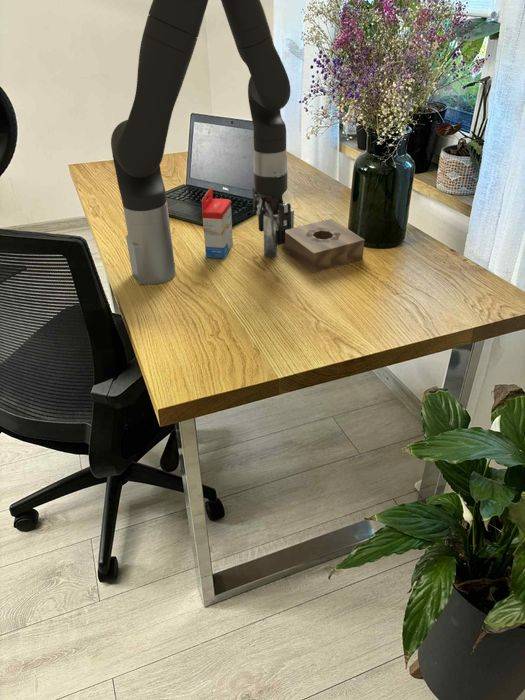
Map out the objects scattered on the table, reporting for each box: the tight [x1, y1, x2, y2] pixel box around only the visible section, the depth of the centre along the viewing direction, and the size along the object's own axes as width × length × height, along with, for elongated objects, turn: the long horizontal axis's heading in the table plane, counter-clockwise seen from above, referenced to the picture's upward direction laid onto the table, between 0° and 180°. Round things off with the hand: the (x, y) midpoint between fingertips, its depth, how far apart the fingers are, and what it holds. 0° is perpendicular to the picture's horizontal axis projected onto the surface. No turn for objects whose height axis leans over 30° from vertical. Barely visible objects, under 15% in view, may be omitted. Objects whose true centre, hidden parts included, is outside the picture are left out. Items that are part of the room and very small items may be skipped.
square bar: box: [277, 208, 295, 228], centre depth 139 cm, size 4×4×7 cm
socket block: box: [282, 218, 365, 274], centre depth 131 cm, size 14×14×5 cm
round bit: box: [263, 213, 278, 258], centre depth 129 cm, size 3×3×10 cm
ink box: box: [201, 186, 234, 259], centre depth 130 cm, size 8×5×15 cm, turn 168°
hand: (271, 237), depth 130 cm, fingers open, 8 cm apart
